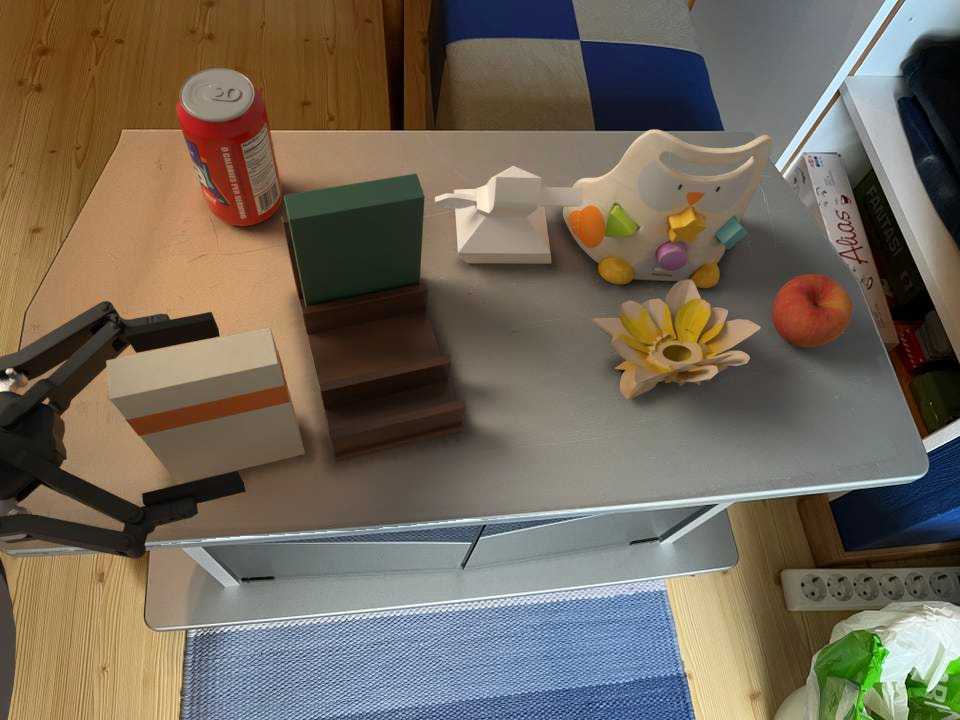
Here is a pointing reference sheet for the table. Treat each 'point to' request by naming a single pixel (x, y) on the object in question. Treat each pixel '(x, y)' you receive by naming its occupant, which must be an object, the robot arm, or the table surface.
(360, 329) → the book rack
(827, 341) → the apple
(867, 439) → the table surface
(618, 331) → the decorative flower
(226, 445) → the book
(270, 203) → the soda can
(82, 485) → the robot arm
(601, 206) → the shape sorter
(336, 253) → the green book
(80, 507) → the table surface
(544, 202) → the white angular piece
